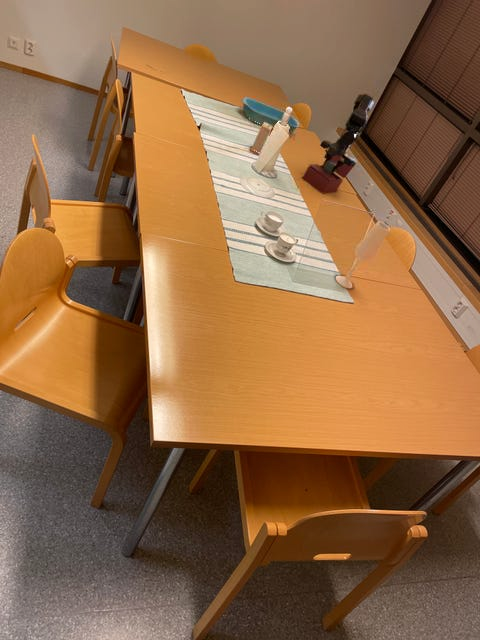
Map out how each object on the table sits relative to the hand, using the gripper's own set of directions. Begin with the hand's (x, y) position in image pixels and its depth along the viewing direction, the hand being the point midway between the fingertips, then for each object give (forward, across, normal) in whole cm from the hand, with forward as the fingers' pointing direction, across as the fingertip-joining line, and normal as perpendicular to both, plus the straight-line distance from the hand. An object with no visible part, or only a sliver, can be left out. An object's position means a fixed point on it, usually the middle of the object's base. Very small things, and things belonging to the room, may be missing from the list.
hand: (329, 169), depth 230 cm
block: (+1, 0, 0) cm, 1 cm away
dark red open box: (+8, 0, -1) cm, 8 cm away
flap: (-2, 0, +8) cm, 8 cm away
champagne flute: (+9, +55, -67) cm, 87 cm away
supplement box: (+8, -31, -18) cm, 37 cm away
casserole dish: (+8, -61, +28) cm, 68 cm away
